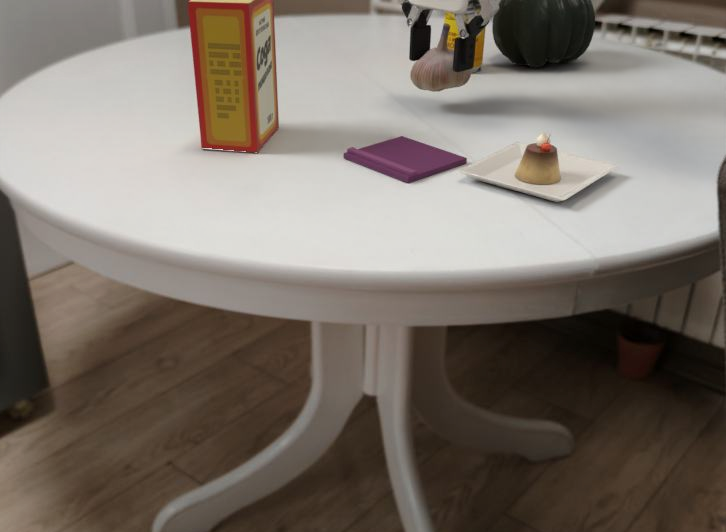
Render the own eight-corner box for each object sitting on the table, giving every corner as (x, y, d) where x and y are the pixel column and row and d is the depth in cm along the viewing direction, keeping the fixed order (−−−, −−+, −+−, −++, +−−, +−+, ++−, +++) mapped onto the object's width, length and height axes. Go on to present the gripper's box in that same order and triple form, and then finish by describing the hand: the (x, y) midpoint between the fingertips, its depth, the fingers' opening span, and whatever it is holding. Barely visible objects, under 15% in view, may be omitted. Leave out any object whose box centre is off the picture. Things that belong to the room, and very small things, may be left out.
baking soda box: (257, 153, 90) (248, -1, 81) (201, 149, 91) (187, -3, 82) (278, 127, 98) (272, -15, 89) (227, 124, 99) (216, -17, 90)
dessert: (562, 210, 76) (570, 162, 74) (456, 181, 83) (460, 135, 80) (617, 176, 84) (626, 130, 81) (516, 151, 90) (521, 108, 88)
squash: (620, 35, 116) (595, -59, 118) (524, 46, 113) (500, -51, 115) (576, 83, 130) (555, -2, 132) (490, 93, 127) (469, 6, 129)
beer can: (436, 71, 120) (443, -39, 112) (447, 62, 125) (454, -44, 117) (476, 75, 119) (485, -37, 110) (485, 66, 123) (495, -42, 115)
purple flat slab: (466, 163, 87) (467, 154, 87) (407, 183, 82) (408, 173, 82) (401, 140, 94) (402, 132, 93) (343, 158, 89) (343, 149, 88)
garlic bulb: (475, 84, 105) (481, 19, 101) (459, 99, 99) (464, 31, 95) (420, 78, 108) (424, 15, 103) (401, 92, 102) (404, 25, 98)
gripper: (532, -93, 89) (513, 72, 99) (419, -101, 100) (412, 48, 110) (488, -90, 85) (473, 83, 94) (375, -98, 96) (372, 57, 105)
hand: (440, 63), depth 102 cm, fingers closed on garlic bulb, 6 cm apart
